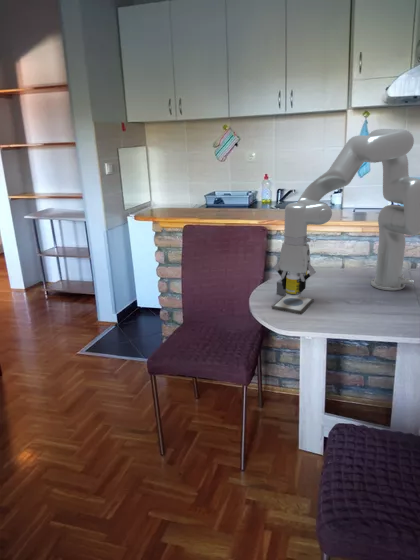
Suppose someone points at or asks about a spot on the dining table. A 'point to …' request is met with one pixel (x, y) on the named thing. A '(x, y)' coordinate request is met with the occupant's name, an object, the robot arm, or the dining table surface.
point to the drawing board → (293, 304)
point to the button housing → (280, 288)
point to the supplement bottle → (293, 284)
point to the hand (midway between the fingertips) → (293, 289)
